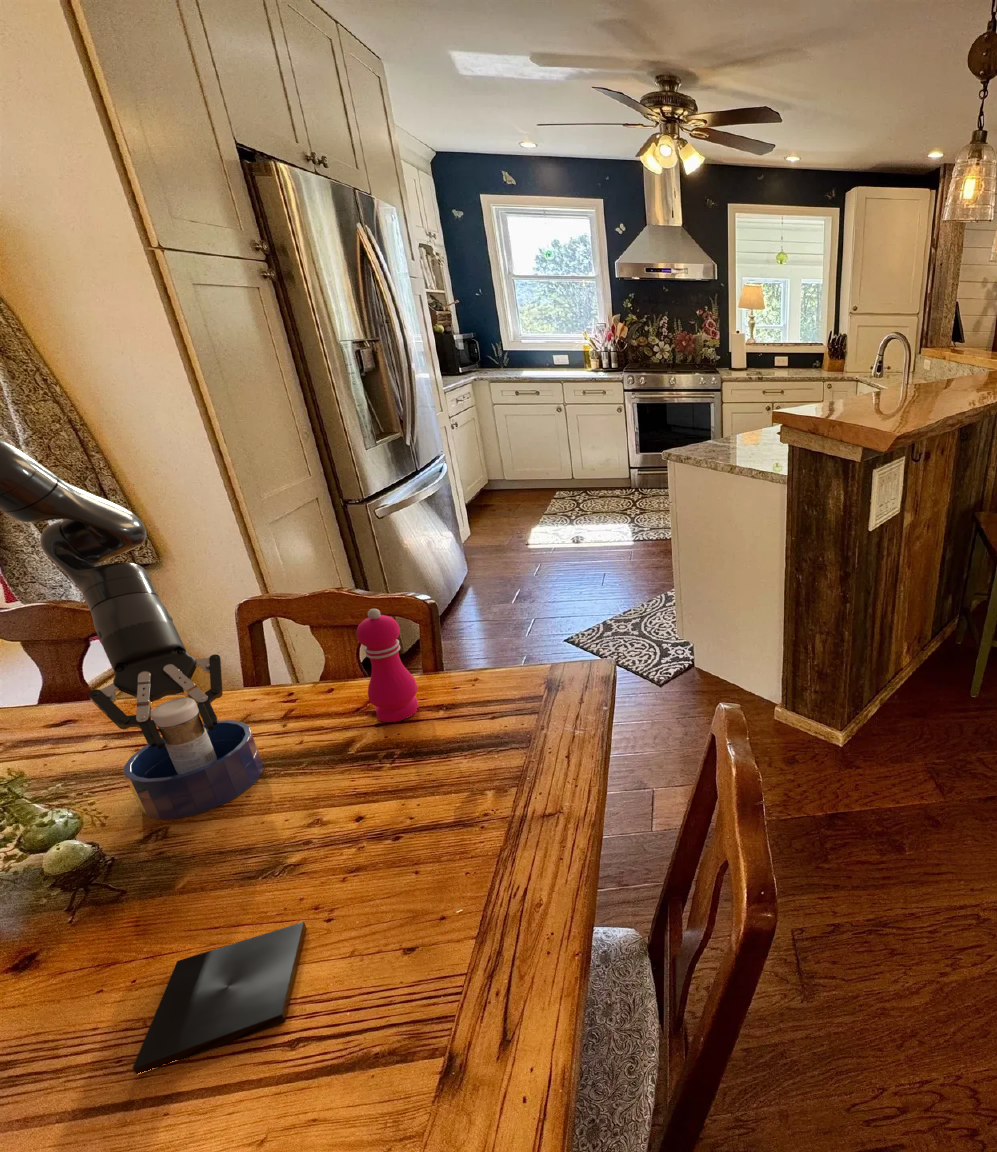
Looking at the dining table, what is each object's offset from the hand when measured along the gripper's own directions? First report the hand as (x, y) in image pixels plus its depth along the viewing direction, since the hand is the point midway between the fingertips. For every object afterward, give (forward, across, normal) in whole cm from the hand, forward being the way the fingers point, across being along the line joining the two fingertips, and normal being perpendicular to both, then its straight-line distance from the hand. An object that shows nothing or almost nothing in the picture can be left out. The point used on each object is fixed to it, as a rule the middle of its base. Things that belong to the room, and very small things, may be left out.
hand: (186, 737), depth 84 cm
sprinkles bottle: (+5, 0, -8) cm, 9 cm away
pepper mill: (+7, -26, -7) cm, 27 cm away
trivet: (+34, +5, +20) cm, 40 cm away
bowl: (+5, 0, -8) cm, 10 cm away
